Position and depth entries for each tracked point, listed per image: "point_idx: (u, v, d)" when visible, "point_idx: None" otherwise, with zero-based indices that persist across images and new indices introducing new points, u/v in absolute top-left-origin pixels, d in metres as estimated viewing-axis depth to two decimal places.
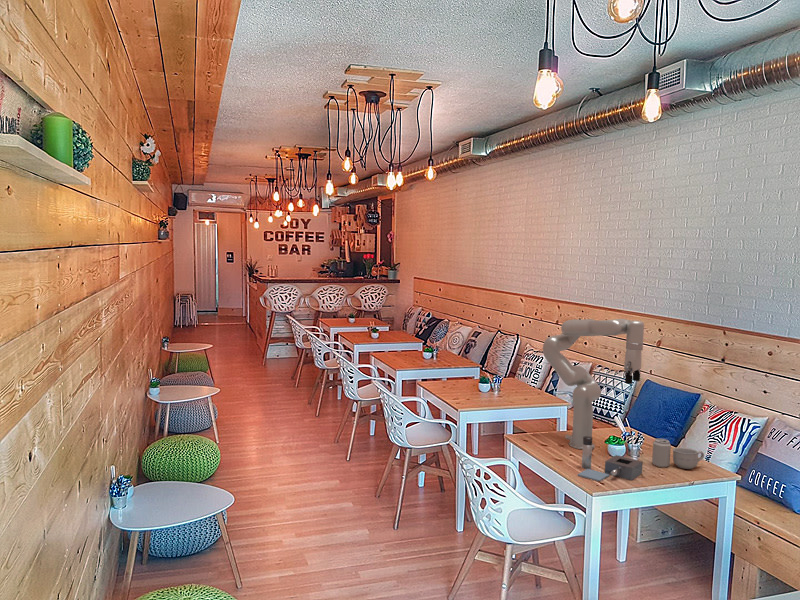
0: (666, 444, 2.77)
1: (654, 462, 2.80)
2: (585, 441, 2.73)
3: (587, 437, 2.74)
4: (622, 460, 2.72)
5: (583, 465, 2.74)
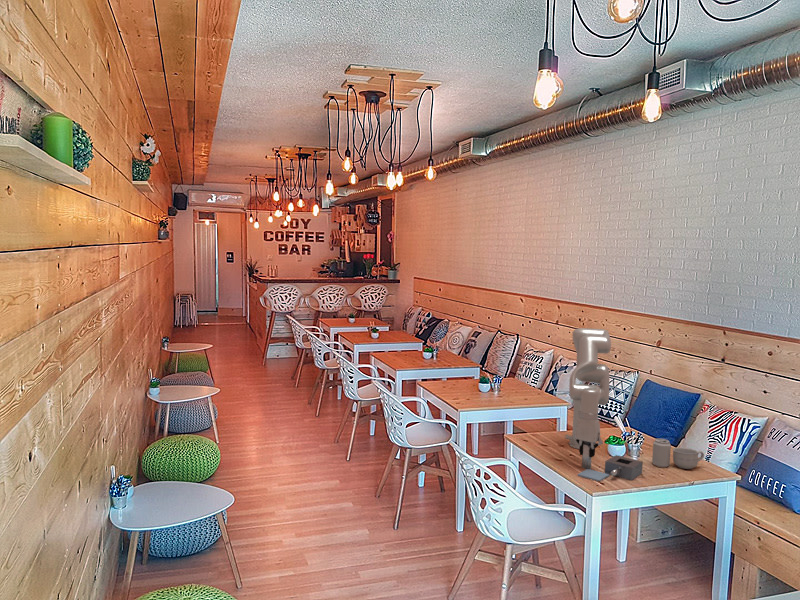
0: (666, 444, 2.77)
1: (654, 462, 2.80)
2: (585, 441, 2.73)
3: None
4: (622, 460, 2.72)
5: (583, 465, 2.74)
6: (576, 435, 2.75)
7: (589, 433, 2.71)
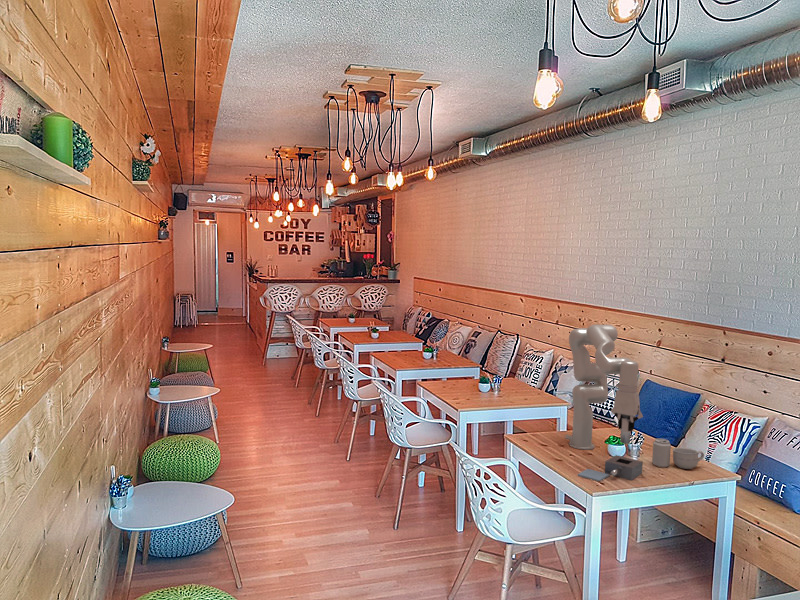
0: (666, 444, 2.77)
1: (654, 462, 2.80)
2: (624, 415, 2.65)
3: None
4: (622, 460, 2.72)
5: (622, 439, 2.67)
6: (614, 409, 2.68)
7: (628, 406, 2.63)
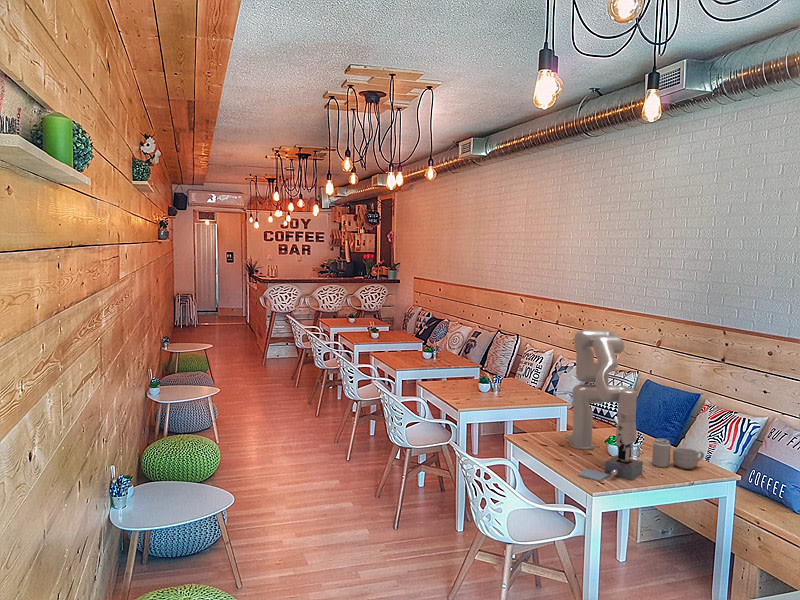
0: (666, 444, 2.77)
1: (654, 462, 2.80)
2: (629, 444, 2.66)
3: None
4: None
5: None
6: (626, 441, 2.63)
7: (633, 434, 2.67)
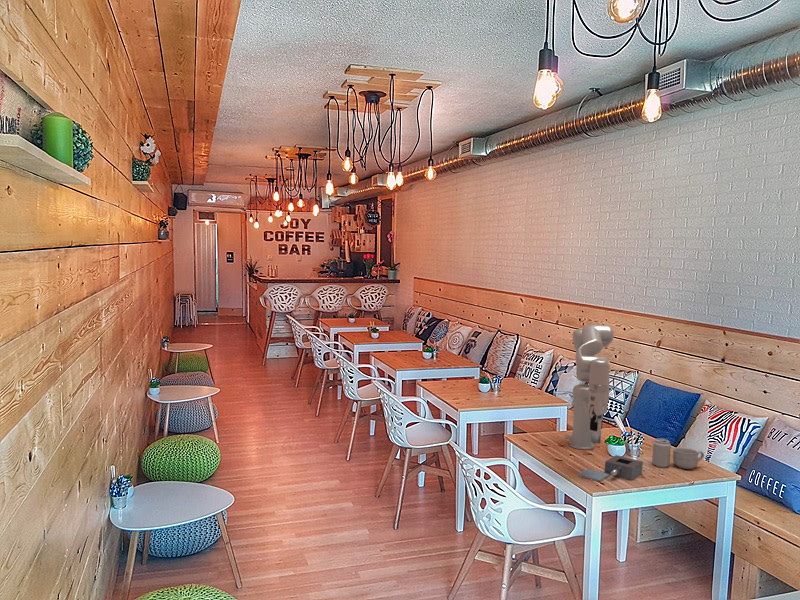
0: (666, 444, 2.77)
1: (654, 462, 2.80)
2: None
3: None
4: (622, 460, 2.72)
5: (599, 440, 2.62)
6: (598, 412, 2.57)
7: (605, 404, 2.62)
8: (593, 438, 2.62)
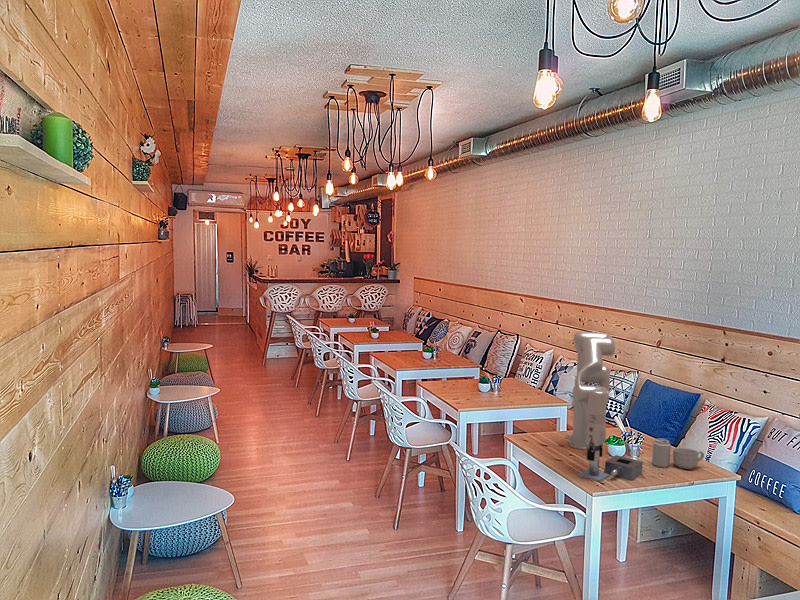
0: (666, 444, 2.77)
1: (654, 462, 2.80)
2: (598, 447, 2.62)
3: None
4: (622, 460, 2.72)
5: (597, 472, 2.63)
6: (596, 442, 2.58)
7: (603, 434, 2.63)
8: (591, 470, 2.63)
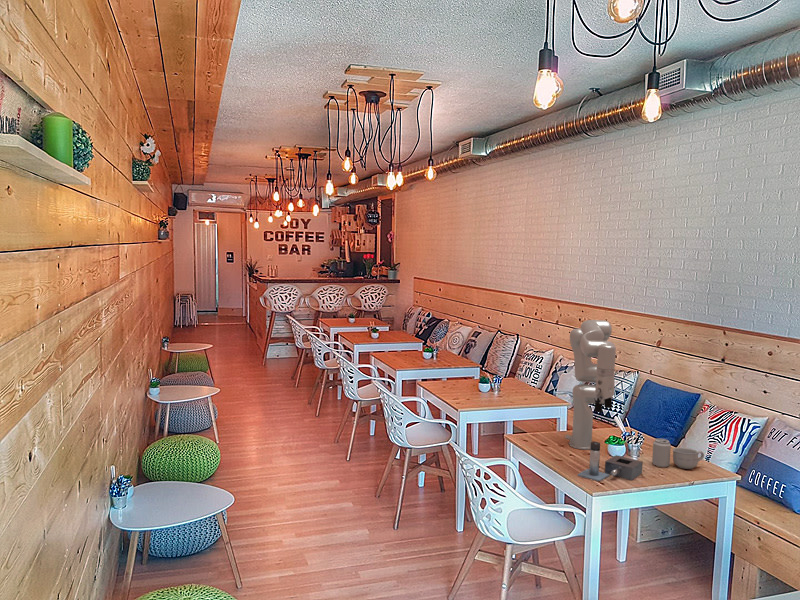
0: (666, 444, 2.77)
1: (654, 462, 2.80)
2: (599, 447, 2.62)
3: (595, 443, 2.63)
4: (622, 460, 2.72)
5: (597, 472, 2.63)
6: (605, 395, 2.64)
7: (612, 388, 2.68)
8: (591, 470, 2.63)
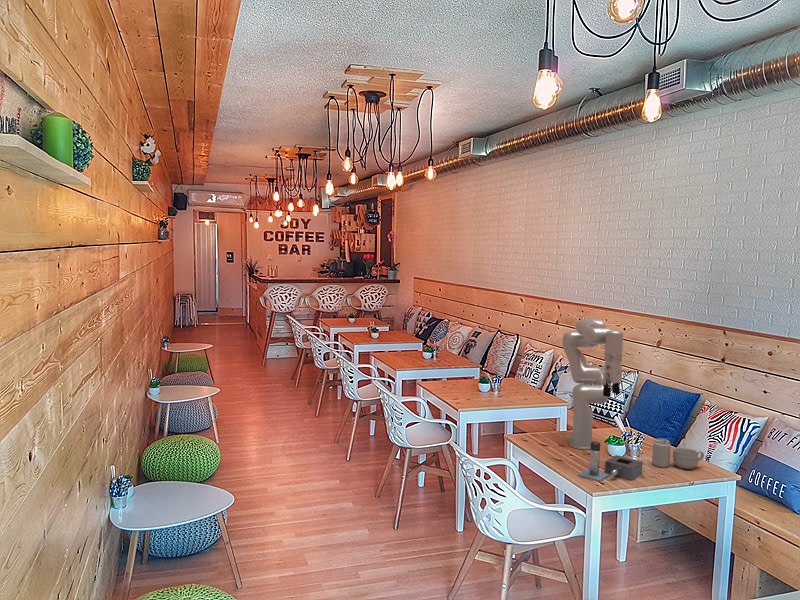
0: (666, 444, 2.77)
1: (654, 462, 2.80)
2: (599, 447, 2.62)
3: (595, 443, 2.63)
4: (622, 460, 2.72)
5: (597, 472, 2.63)
6: (613, 380, 2.70)
7: (619, 373, 2.74)
8: (591, 470, 2.63)
